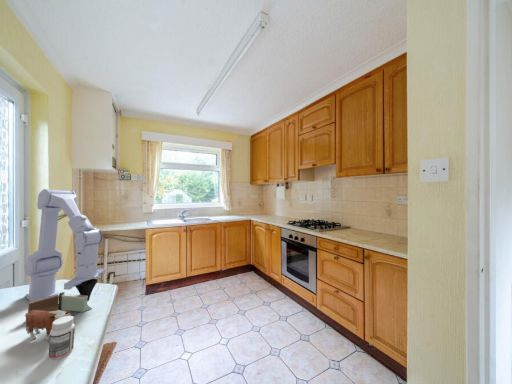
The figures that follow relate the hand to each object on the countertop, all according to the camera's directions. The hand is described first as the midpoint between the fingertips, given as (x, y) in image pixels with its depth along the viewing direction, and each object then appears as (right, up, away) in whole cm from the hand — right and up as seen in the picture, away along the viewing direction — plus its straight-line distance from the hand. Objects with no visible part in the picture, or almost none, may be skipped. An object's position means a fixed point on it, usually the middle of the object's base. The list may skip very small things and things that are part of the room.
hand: (85, 301), depth 73 cm
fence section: (-10, -2, -4) cm, 11 cm away
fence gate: (-3, -2, -2) cm, 4 cm away
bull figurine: (+2, -3, -15) cm, 15 cm away
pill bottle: (+11, -2, -21) cm, 24 cm away
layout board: (-7, -3, -2) cm, 8 cm away
